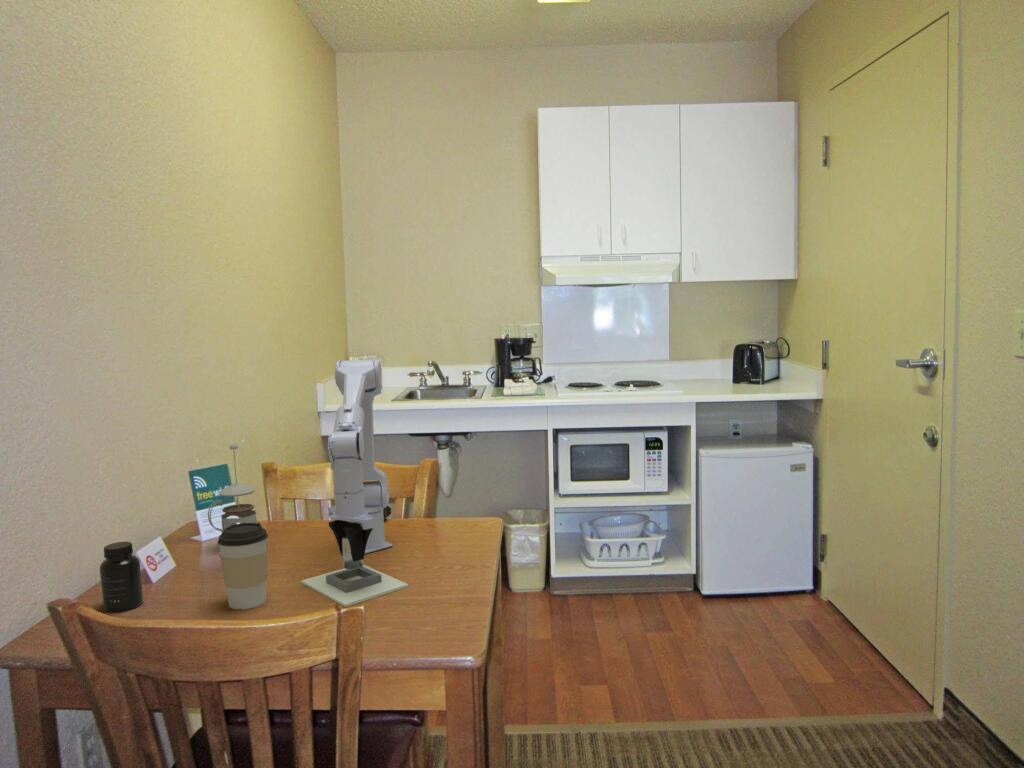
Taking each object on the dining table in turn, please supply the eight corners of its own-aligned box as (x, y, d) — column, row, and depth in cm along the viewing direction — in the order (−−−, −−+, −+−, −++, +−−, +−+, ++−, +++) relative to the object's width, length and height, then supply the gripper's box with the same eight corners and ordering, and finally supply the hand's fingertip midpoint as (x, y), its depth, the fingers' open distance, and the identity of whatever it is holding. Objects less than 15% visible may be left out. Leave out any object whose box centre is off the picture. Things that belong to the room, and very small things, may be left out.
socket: (301, 582, 152) (300, 573, 152) (361, 565, 161) (360, 556, 161) (345, 607, 139) (344, 596, 138) (408, 586, 148) (407, 576, 148)
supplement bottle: (113, 600, 146) (107, 540, 145) (149, 597, 147) (144, 538, 145) (96, 614, 139) (91, 551, 138) (134, 611, 140) (129, 549, 139)
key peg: (339, 566, 150) (338, 536, 149) (356, 561, 152) (355, 532, 152) (350, 570, 147) (348, 540, 146) (367, 565, 150) (366, 536, 149)
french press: (268, 548, 176) (261, 443, 173) (216, 559, 169) (208, 450, 167) (256, 538, 184) (249, 438, 181) (206, 548, 177) (198, 444, 175)
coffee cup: (223, 615, 137) (217, 535, 135) (221, 598, 145) (215, 523, 144) (274, 606, 140) (269, 528, 139) (269, 590, 149) (264, 516, 147)
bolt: (389, 523, 200) (360, 538, 186) (375, 513, 201) (344, 527, 187) (398, 505, 199) (369, 519, 185) (384, 495, 200) (353, 508, 186)
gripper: (313, 488, 151) (317, 554, 152) (349, 500, 140) (353, 570, 141) (344, 482, 156) (347, 546, 157) (381, 493, 145) (385, 561, 146)
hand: (352, 557), depth 149 cm, fingers closed on key peg, 4 cm apart
